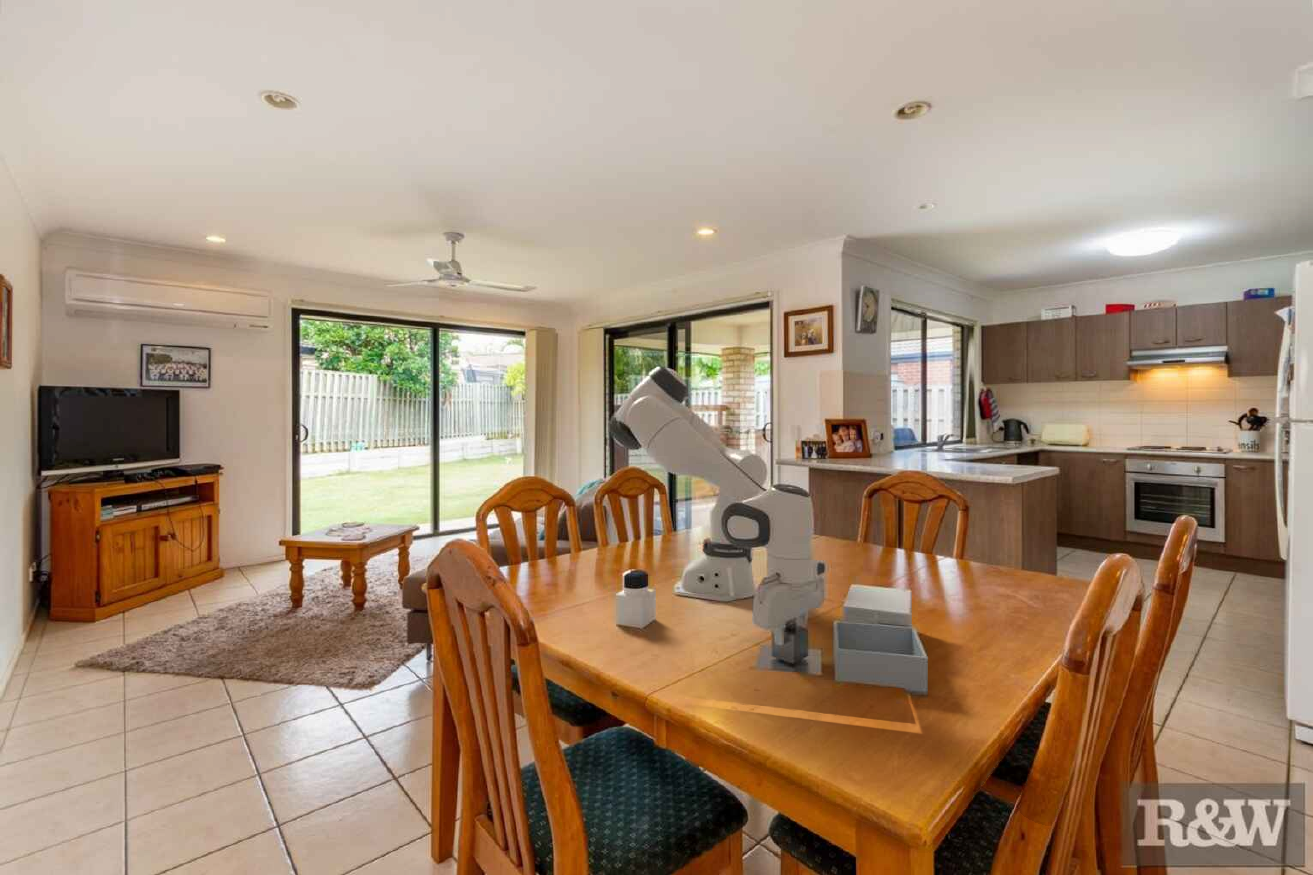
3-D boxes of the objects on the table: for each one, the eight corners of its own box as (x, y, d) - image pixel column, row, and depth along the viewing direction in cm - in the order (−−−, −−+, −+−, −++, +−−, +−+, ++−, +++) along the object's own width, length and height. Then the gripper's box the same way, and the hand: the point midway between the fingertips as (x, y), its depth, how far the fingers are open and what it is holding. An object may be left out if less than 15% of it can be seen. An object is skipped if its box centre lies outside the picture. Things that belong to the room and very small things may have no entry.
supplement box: (850, 623, 140) (850, 583, 140) (911, 631, 135) (912, 589, 135) (841, 649, 125) (842, 604, 124) (910, 659, 120) (911, 612, 119)
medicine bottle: (655, 619, 143) (655, 569, 143) (642, 629, 137) (642, 577, 136) (629, 615, 146) (628, 566, 146) (615, 624, 140) (614, 573, 139)
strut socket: (793, 663, 114) (793, 622, 114) (771, 656, 117) (771, 615, 117) (808, 656, 117) (808, 615, 117) (786, 649, 121) (786, 609, 121)
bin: (835, 685, 108) (835, 649, 108) (833, 653, 122) (833, 620, 122) (927, 695, 104) (927, 658, 104) (914, 660, 118) (914, 627, 118)
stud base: (755, 673, 113) (755, 650, 113) (761, 649, 125) (761, 628, 125) (821, 680, 110) (821, 656, 110) (821, 654, 122) (821, 633, 121)
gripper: (773, 583, 107) (772, 659, 108) (831, 562, 121) (830, 629, 122) (744, 576, 112) (744, 650, 112) (803, 557, 126) (803, 622, 127)
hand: (789, 639), depth 117 cm, fingers closed on strut socket, 5 cm apart
